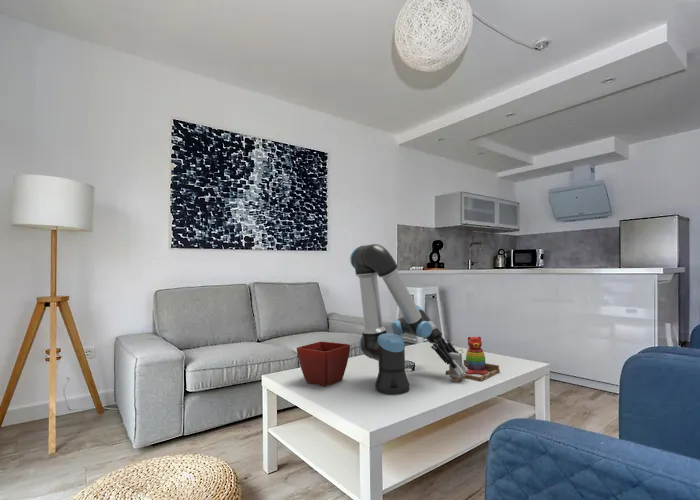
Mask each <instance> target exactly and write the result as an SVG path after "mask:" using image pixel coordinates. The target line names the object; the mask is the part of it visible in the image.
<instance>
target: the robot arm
mask: <svg viewBox="0 0 700 500" xmlns="http://www.w3.org/2000/svg"><path fill="white" fill-rule="evenodd" d="M349 261H350V264H351V266H352V267H353V268H354V269H355V270H354V272H355V276H356V277H358V279H359V285H360V286H359V287H360V289H359V290H360V294H361V295H360V296H361V304H362V305H361V306H362V315H363V324H364V328H363V329H362V331H361V338H360V339H359V344H358V345H359V348H360V351H361V353H362V354H364V356H366V357H367V358H369V359H373V360H375V361H377V362H378V373H377V377H376V380H375V384H374V387H375V389H374V390H375V391H376V392H377V393H379V394H384V395H395V396H396V395H402V394H406V393H408V392H410V390H411V387H410V381H409V379H408V376H407V373H406V353H405V352H406V350H405V349H406V345H405V339H404V338H403V335H405V334H406V335H410V336H413V337H418V338H423V339H424V338H426V340H427V342H428V343H429V344H432V345H431V346H430V348H431V349H433V351H435V353H436V354H437V355H438V356H439V357H440V359H441V360H442V361H443V362H444V363H445V364H446V365H449V364H450V365H451V366H452V367H453V369H454V370H455V371H456V372H457V374H458V375H460V374H465V372H466V371H467V370H468V369H467V367H465V366H464V362H462V369H461V368H460V367H459V365H458V364H457V363H456V362H455V360H453V361H452V358H451V357H450V355H449V353H451V352H454V353H458V352H457V351H458V350H456V347H455V348H454V347H453V346H452V345H453V344H452V345H451V341H450V340H449V339H445V338H444V337H442V336H443V333H442V332H441V331H440V329H439V328H437V326H436V324H435V323H434V322H433V321H432V319H430V317H429V315H427V314H426V312H425V310H423V309H422V307H420V306H419V305H416V302H415V301H414V299H413V297H412V295H411V294H410V291H409V290H408V288H407V286H406V284H405V282H404V279H402V277H401V275H400V272H399V271H398V267H399V266H398V264H397V262H396V261H395V259H394V258H393V255H392V254H391V253H390V252H389V251H388V250H387V249H386V248H385V247H384V246H383V245H381V244H376V243H371V244H366V245H365V244H364V245H360V246H357V247H356V248H354V249H353V251H352V252H351V254H350V258H349ZM378 277H379V278H382V280H383V282H384V284H385V286H386V287H387V289H388V291H389V293H390V294H391V296H392V298H393V299H394V301H395V303H396V305H397V307H398V308H399V311H400V312H401V314H402V317H400V318H398V319H396V320H394V321H392V322H391V330H392V332H393V333H387V328H385V326H383V320H382V319H383V317H382V311H381V309H382V308H381V302H380V301H381V300H380V291H379V290H380V289H379V282H378Z"/></svg>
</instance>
